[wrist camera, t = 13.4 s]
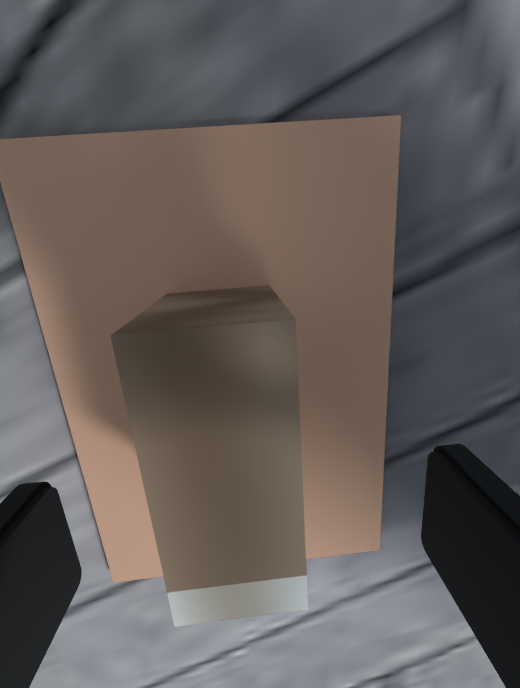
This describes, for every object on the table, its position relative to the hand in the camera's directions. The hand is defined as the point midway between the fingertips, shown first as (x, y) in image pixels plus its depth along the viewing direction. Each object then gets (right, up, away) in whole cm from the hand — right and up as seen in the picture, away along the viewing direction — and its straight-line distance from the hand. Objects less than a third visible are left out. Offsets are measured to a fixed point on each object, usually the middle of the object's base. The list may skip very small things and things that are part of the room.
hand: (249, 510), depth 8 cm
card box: (-1, +2, +6) cm, 6 cm away
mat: (-1, +2, +6) cm, 7 cm away
